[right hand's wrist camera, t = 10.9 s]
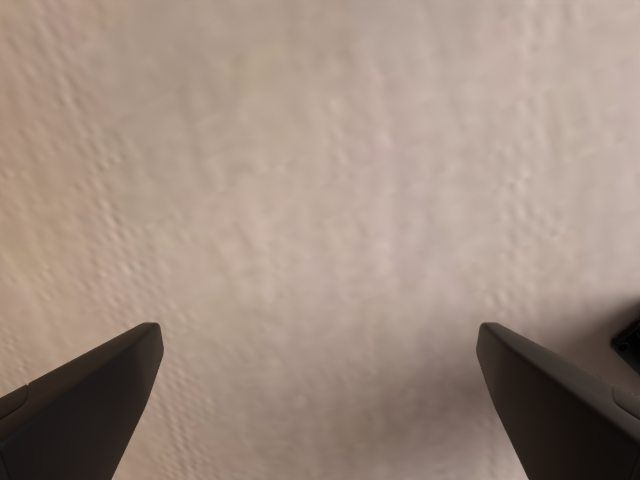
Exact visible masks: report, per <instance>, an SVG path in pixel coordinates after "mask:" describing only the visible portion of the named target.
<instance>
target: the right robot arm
mask: <svg viewBox="0 0 640 480" xmlns="http://www.w3.org/2000/svg"><path fill="white" fill-rule="evenodd" d="M622 344H623V345H622ZM621 345H622V346H621ZM611 348H612V349H613V350H614V351H615V352H616V353H617V354H618V355H619V356H620V357H621V358H622V359H623V360H624V361H625V362H627V363H628V364H629V365H630V366H631V367H632V368H633V369H634V370H635V371H636V372H637V373H638V374H639V375H640V320H638V321H637V322H636V323H634V324H633V325H632V326H630V327H629V328H628V329H626V330H625V331H624V332H622V333H621V334H620V335H618V336H617V337H616V338H614V339H613V340H612V342H611ZM163 352H164V347H163V341H162V335H161V328H160V325H159V324H158V323H142V324H140V325H138V326H136V327H134V328H132V329H130V330H128V331H127V332H125V333H123V334H121V335H119V336H117V337H115V338H113V339H111V340H110V341H108V342H106V343H104V344H102V345H100V346H98V347H96V348H94V349H93V350H91V351H89V352H87V353H85V354H83V355H81V356H79V357H77V358H75V359H74V360H72V361H70V362H68V363H66V364H64V365H62V366H60V367H58V368H57V369H55V370H53V371H51V372H49V373H47V374H45V375H43V376H41V377H40V378H38V379H36V380H34V381H32V382H30V383H29V384H28V385H24V386H22V387H20V388H19V389H17V390H15V391H13V392H11V393H9V394H7V395H5V396H3V397H1V398H0V480H111V479H112V477H113V475H114V473H115V471H116V468H117V466H118V464H119V462H120V460H121V458H122V456H123V454H124V451H125V449H126V447H127V445H128V443H129V441H130V439H131V437H132V434H133V432H134V430H135V428H136V426H137V424H138V422H139V419H140V417H141V415H142V413H143V411H144V409H145V406H146V404H147V401H148V399H149V396H150V393H151V390H152V387H153V384H154V381H155V378H156V375H157V372H158V369H159V366H160V363H161V360H162V357H163ZM476 352H477V357H478V360H479V363H480V366H481V369H482V372H483V375H484V378H485V381H486V384H487V387H488V390H489V393H490V396H491V399H492V401H493V404H494V406H495V409H496V411H497V413H498V415H499V417H500V419H501V422H502V424H503V426H504V428H505V430H506V432H507V434H508V437H509V439H510V441H511V443H512V445H513V447H514V449H515V451H516V454H517V456H518V458H519V460H520V462H521V464H522V466H523V468H524V471H525V473H526V475H527V477H528V479H529V480H640V398H639V397H637V396H635V395H633V394H631V393H629V392H627V391H625V390H623V389H621V388H620V387H618V386H616V385H612V384H611V383H610V382H608V381H606V380H604V379H602V378H601V377H599V376H597V375H595V374H593V373H591V372H589V371H587V370H585V369H583V368H582V367H580V366H578V365H576V364H574V363H572V362H570V361H568V360H566V359H565V358H563V357H561V356H559V355H557V354H555V353H553V352H551V351H549V350H547V349H546V348H544V347H542V346H540V345H538V344H536V343H534V342H532V341H530V340H529V339H527V338H525V337H523V336H521V335H519V334H517V333H515V332H513V331H512V330H510V329H508V328H506V327H504V326H502V325H500V324H498V323H482V324H481V325H480V328H479V335H478V341H477V347H476Z"/></svg>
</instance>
